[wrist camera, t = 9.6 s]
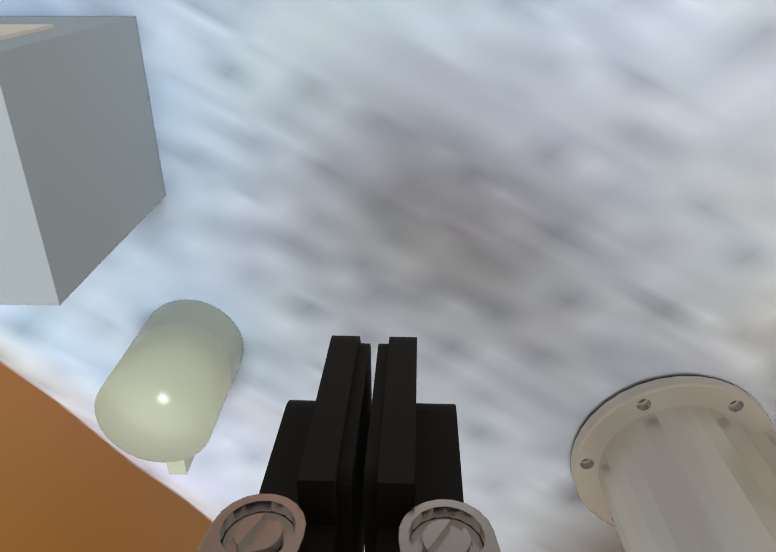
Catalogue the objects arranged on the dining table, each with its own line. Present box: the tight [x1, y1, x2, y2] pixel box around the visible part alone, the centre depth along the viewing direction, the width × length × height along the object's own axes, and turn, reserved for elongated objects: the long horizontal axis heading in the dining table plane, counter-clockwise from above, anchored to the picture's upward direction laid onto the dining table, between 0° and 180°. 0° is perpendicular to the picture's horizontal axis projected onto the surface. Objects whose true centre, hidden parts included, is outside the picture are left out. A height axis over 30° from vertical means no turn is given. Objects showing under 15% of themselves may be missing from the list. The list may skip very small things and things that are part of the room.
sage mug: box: [95, 300, 243, 474], centre depth 36 cm, size 6×8×7 cm
